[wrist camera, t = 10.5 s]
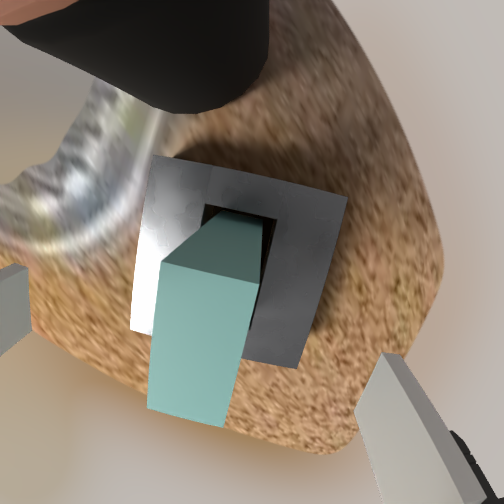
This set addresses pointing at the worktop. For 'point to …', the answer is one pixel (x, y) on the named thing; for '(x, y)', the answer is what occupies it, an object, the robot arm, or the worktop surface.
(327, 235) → the block
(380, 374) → the robot arm
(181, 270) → the keyed peg
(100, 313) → the worktop surface
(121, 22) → the coffee jar
